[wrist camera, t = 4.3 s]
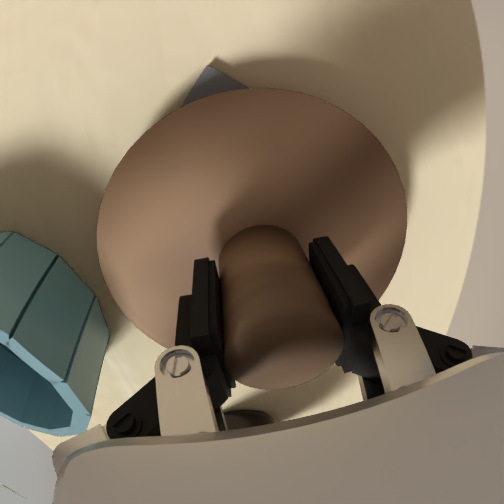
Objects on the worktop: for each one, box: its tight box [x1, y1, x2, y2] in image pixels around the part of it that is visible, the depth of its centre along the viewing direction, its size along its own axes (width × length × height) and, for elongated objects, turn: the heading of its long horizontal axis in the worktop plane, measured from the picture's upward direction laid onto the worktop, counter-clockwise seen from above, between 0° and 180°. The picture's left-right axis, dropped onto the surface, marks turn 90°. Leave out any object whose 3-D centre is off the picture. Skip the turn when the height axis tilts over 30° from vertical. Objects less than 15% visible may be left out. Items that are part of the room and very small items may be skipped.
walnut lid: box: [97, 88, 407, 389], centre depth 11 cm, size 14×14×6 cm
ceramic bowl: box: [0, 231, 110, 437], centre depth 13 cm, size 12×12×6 cm
